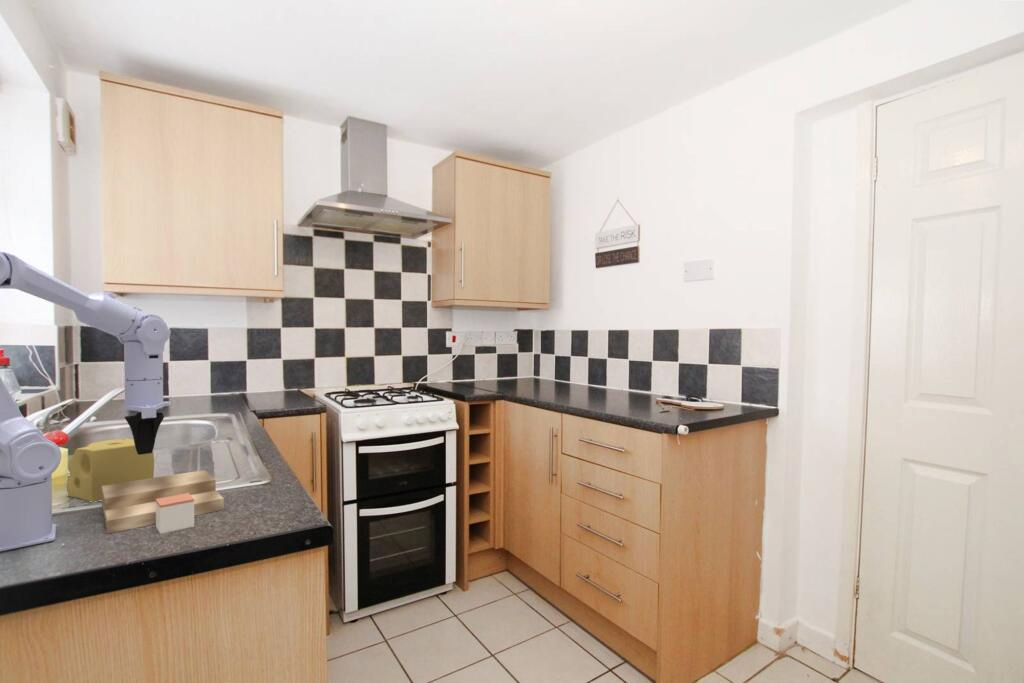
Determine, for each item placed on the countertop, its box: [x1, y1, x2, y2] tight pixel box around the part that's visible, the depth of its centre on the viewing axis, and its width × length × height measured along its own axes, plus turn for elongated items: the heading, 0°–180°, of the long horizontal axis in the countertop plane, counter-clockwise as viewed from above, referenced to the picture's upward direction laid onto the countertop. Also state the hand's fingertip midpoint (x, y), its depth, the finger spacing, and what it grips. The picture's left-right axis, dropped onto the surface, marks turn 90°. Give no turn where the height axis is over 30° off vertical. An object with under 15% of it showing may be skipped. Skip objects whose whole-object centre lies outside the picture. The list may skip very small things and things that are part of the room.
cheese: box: [66, 437, 155, 503], centre depth 99 cm, size 10×11×10 cm
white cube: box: [155, 493, 195, 535], centre depth 80 cm, size 4×4×4 cm
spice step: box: [101, 469, 225, 534], centre depth 88 cm, size 16×16×4 cm
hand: (144, 453), depth 91 cm, fingers closed
